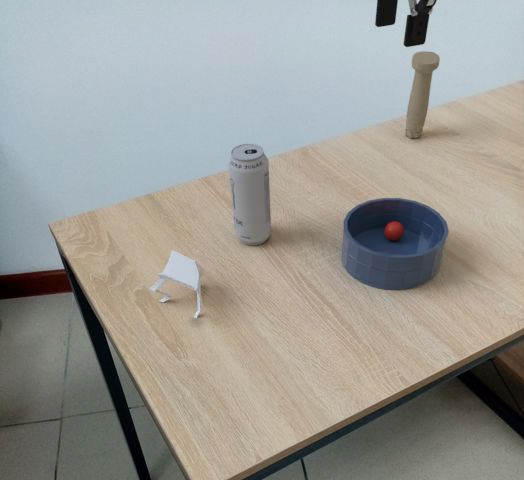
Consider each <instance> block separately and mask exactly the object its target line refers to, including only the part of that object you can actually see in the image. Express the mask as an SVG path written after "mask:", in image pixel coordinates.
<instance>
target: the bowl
mask: <svg viewBox="0 0 524 480" xmlns="http://www.w3.org/2000/svg"><path fill="white" fill-rule="evenodd" d="M342 222H343V223H342V234H341V235H342V236H341V253H340V261H341V264H342V266H343V268H344V269H345V271H346V272H347V273H348V274H349V275H350V276H351V277H352V278H354V279H355V280H357V281H358V282H360V283H362V284H364V285H367V286H369V287H372V288H376V289H382V290H389V291H390V290H391V291H402V290H410V289H415V288H418V287H420V286H422V285H425V284H426V283H428V282H430V281H431V280H432V279H433V278H434V277H435V276H436V275H437V274H438V272H439V270H440V267H441V264H442V260H443V257H444V253H445V248H446V246H447V245H446V244H447V241H448V236H449V234H450V233H449V232H450V231H449V227H448V223H447V220H446V219H445V218H444V217H443V215H442V214H441V213H440V212H438V211H437V210H435V209H434V208H432V207H431V206H429V205H427V204H424V203H422V202H419V201H417V200H412V199H407V198H401V197H381V198H375V199H370V200H367V201H364V202H361V203H359V204H357V205H355V207H353V208H352V209H350V210H349V211H348V212H347V214H346V215H345V217H344V219H343V221H342ZM390 222H399V223H401V224H402V226H403V228H404V234H403V236H402V237H401V238H400V239H399V240H396V241H391V240H389V239H388V238H387V237H386V236H385V227H386V226H387V225H388V224H389V223H390Z"/></svg>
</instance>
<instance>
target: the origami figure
mask: <svg viewBox="0 0 524 480" xmlns="http://www.w3.org/2000/svg"><path fill="white" fill-rule="evenodd" d="M204 271H205V268H204V267H202V266H201V265H199V264H198V263H197V260H196V259H192V258H190V257H188V256H186V255H184V254H182V253H180V252H178V251H175V249H172V251H171V252H170V255H169V257H168V261H167V263H166V264H165V267H164V268H163V270H162V272H160V273H158V274H157V275H158V277H159V279H157V280H156V282H155V283H153V284H152V286H151V287H150V288H149V289H148V290H149V291H152V292H154V293H157V294H160V295H162V296H165V297H163V298H161V299H159V300H158V301H159V302H161V303H164V302H167V301H168V300H171V299H172V298H174V296H172V295H170V294H168V293H165V292H164V291H161V290H159V289H160V288H161V287H162V286H163V285H164V284H166V282H167V281H169V282H172V283H175V284H177V285H181V286H182V287H185V288H186V289H187V288H188V289H190V290H192V291H194V292H196V296H197V297H196V298H197V299H196V300H197V310H196V312H195V314H194V316H193V317H194V318H195V319H197V318H199V315H200V313H201V312H203V311H204V310H203V308H204V307H203V298H202V293H201V288H202V276H203V274H204Z"/></svg>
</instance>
